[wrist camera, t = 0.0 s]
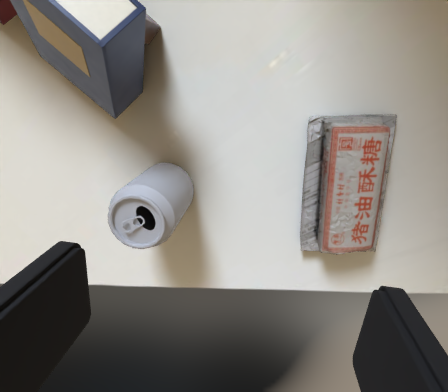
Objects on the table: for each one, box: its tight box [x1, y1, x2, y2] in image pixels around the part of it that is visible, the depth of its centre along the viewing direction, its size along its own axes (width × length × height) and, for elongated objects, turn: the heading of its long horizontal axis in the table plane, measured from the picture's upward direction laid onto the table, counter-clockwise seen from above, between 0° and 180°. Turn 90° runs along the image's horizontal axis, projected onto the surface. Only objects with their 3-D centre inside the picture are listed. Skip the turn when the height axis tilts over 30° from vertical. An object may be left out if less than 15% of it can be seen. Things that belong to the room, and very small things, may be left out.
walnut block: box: [145, 14, 160, 45], centre depth 33 cm, size 2×6×7 cm, turn 49°
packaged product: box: [300, 115, 397, 255], centre depth 37 cm, size 18×5×10 cm
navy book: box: [10, 0, 146, 119], centre depth 30 cm, size 15×11×5 cm
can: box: [108, 163, 194, 249], centre depth 37 cm, size 8×8×12 cm
